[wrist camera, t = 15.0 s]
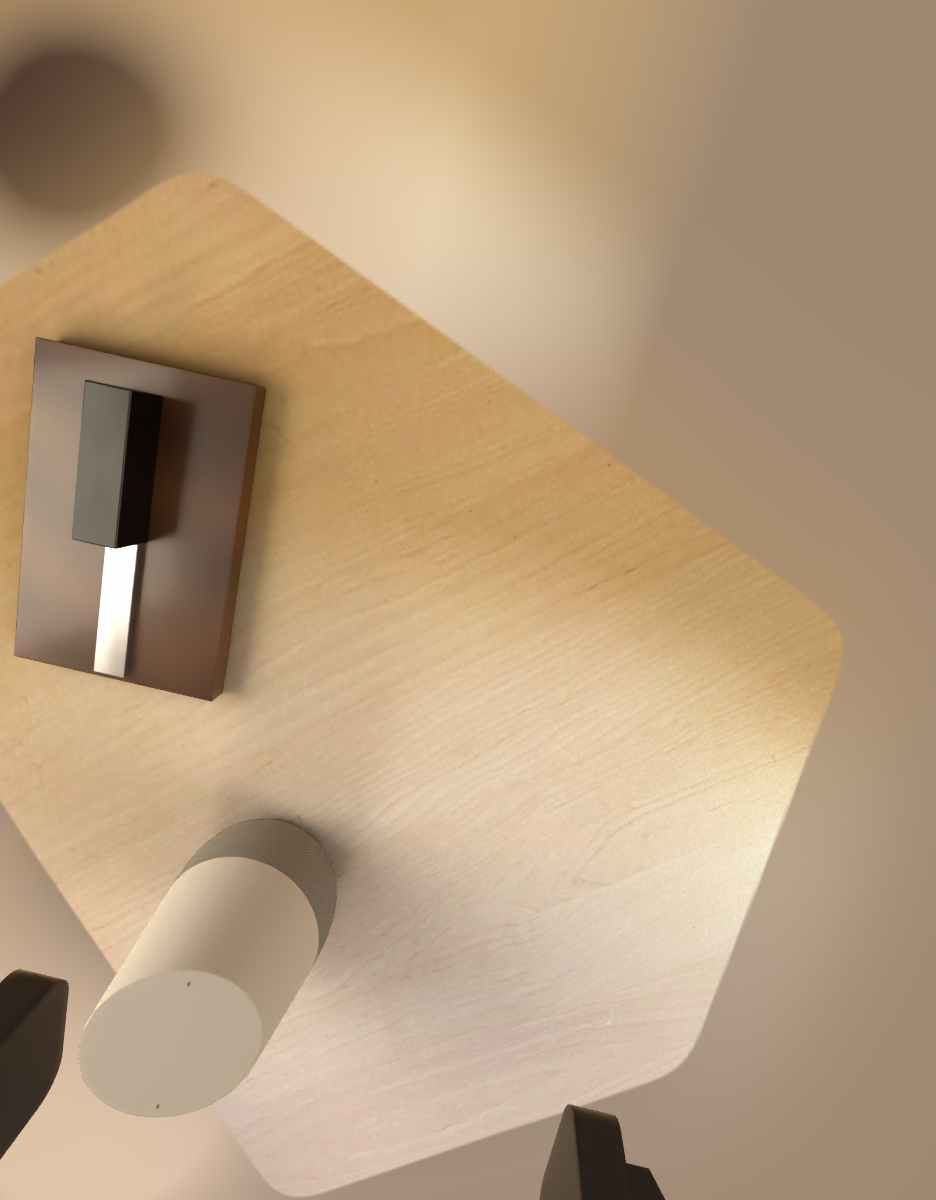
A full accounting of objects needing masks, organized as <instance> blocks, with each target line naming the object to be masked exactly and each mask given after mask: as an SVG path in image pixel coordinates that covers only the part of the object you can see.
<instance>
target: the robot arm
mask: <svg viewBox="0 0 936 1200" xmlns="http://www.w3.org/2000/svg"><path fill="white" fill-rule="evenodd" d="M68 990H69V986H68V983H67V981H66V980H63V979H59V978H54V977H51V976H46V975H42V974H38V973H34V972H30V971H26V970H21V969H19V970H16V971H14V972H12V973H11V974H9V975H8V976H7V977H6V978H5V979H4V980H3V981H2V982H1V983H0V1159H1V1158H2V1157H3V1155H4V1154H5V1152H6V1151H7V1150H8V1148H9V1147H10V1146H11V1144H12V1143H13V1142H14V1140H15V1139H16V1138H17V1136H18V1135H19V1133H20V1132H21V1131H22V1129H23V1128H24V1126H25V1125H26V1124H27V1122H28V1121H29V1120H30V1119H31V1117H32V1116H33V1115H34V1113H35V1112H36V1110H37V1109H38V1107H39V1106H40V1105H41V1103H42V1102H43V1100H44V1099H45V1097H46V1095H47V1093H48V1092H49V1090H50V1088H51V1086H52V1084H53V1082H54V1079H55V1077H56V1075H57V1072H58V1069H59V1066H60V1063H61V1059H62V1052H63V1042H64V1032H65V1022H66V1011H67V1002H68ZM540 1200H665V1198H664V1196H663V1195H662V1193H661V1191H660V1189H659V1187H658V1185H657V1183H656V1181H655V1179H654V1177H653V1175H652V1174H651V1172H650V1170H649V1169H648V1168H644V1167H640V1166H635V1165H632V1164H628V1163H626V1160H625V1154H624V1147H623V1141H622V1135H621V1130H620V1125H619V1122H618V1119H617V1118H616V1116H615V1115H611V1114H607V1113H603V1112H599V1111H595V1110H591V1109H586V1108H582V1107H578V1106H574V1105H570V1104H568V1105H567V1106H566V1108H565V1110H564V1113H563V1116H562V1119H561V1122H560V1125H559V1129H558V1132H557V1135H556V1138H555V1142H554V1145H553V1148H552V1151H551V1155H550V1158H549V1161H548V1164H547V1168H546V1171H545V1174H544V1178H543V1182H542V1188H541V1194H540Z"/></svg>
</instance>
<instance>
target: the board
mask: <svg viewBox="0 0 936 1200" xmlns="http://www.w3.org/2000/svg"><path fill="white" fill-rule="evenodd" d="M85 380H91V381H96V382H101V383H106V384H111V385H116V386H121V387H125V388H130V389H134V390H139V391H143V392H148V393H152V394H157V395H161V396H163V403H162V412H161V422H160V431H159V440H158V449H157V458H156V467H155V477H154V486H153V495H152V504H151V513H150V522H149V532H148V541H147V543H142V550H141V559H140V569H139V578H138V587H137V597H136V606H135V615H134V624H133V634H132V643H131V652H130V662H129V671H128V676H126V677H124V678H122V677H118V676H113V675H109V674H105V673H100V672H96V671H94V662H95V652H96V641H97V631H98V620H99V610H100V599H101V589H102V578H103V568H104V557H105V547H104V546H99V545H95V544H90V543H86V542H82V541H77V540H73V539H72V528H73V516H74V504H75V492H76V480H77V468H78V456H79V445H80V433H81V421H82V409H83V397H84V385H85ZM265 392H266V389H265V388H262V387H259V386H256V385H251V384H247V383H242V382H238V381H233V380H229V379H224V378H220V377H215V376H211V375H206V374H202V373H197V372H193V371H188V370H184V369H179V368H175V367H170V366H166V365H161V364H157V363H152V362H147V361H143V360H138V359H134V358H129V357H125V356H120V355H116V354H111V353H107V352H102V351H98V350H93V349H89V348H84V347H80V346H75V345H71V344H66V343H62V342H57V341H53V340H48V339H44V338H39V337H36V346H35V360H34V375H33V389H32V404H31V419H30V433H29V448H28V462H27V477H26V492H25V506H24V521H23V535H22V550H21V565H20V579H19V594H18V609H17V623H16V638H15V652H14V656H17V657H22V658H26V659H30V660H35V661H39V662H43V663H48V664H52V665H56V666H61V667H65V668H69V669H74V670H78V671H82V672H86V673H91V674H95V675H99V676H104V677H108V678H112V679H117V680H121V681H125V682H130V683H134V684H138V685H143V686H147V687H151V688H155V689H160V690H164V691H168V692H173V693H177V694H181V695H186V696H190V697H194V698H199V699H203V700H207V701H213V700H214V699H215V698H217V697H218V696H219V695H220V694H222V693H223V686H224V679H225V672H226V665H227V658H228V651H229V644H230V637H231V630H232V623H233V616H234V609H235V602H236V595H237V588H238V581H239V574H240V567H241V560H242V553H243V546H244V539H245V532H246V525H247V518H248V511H249V504H250V497H251V490H252V483H253V476H254V469H255V462H256V455H257V448H258V441H259V434H260V427H261V420H262V413H263V406H264V399H265Z"/></svg>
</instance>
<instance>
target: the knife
mask: <svg viewBox="0 0 936 1200" xmlns="http://www.w3.org/2000/svg"><path fill="white" fill-rule="evenodd" d="M162 403H163V396H161V395H157V394H152V393H148V392H143V391H139V390H134V389H130V388H125V387H121V386H116V385H111V384H106V383H101V382H96V381H91V380H85V385H84V397H83V409H82V421H81V433H80V445H79V456H78V468H77V480H76V492H75V504H74V516H73V528H72V539H73V540H77V541H82V542H86V543H90V544H95V545H99V546H104V547H105V557H104V568H103V578H102V589H101V599H100V610H99V620H98V631H97V641H96V652H95V662H94V671H96V672H100V673H105V674H109V675H113V676H118V677H122V678H124V677H126V676H128V671H129V662H130V652H131V643H132V634H133V624H134V615H135V606H136V597H137V587H138V578H139V569H140V559H141V550H142V543H147V541H148V532H149V522H150V513H151V504H152V495H153V486H154V477H155V467H156V458H157V449H158V440H159V431H160V422H161V412H162Z"/></svg>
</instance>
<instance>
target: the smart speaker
mask: <svg viewBox="0 0 936 1200" xmlns="http://www.w3.org/2000/svg"><path fill="white" fill-rule="evenodd" d="M336 895H337V888H336V879H335V874H334V870H333V867H332V864H331V862H330V860H329V858H328V856H327V854H326V852H325V851H324V849H323V848H322V846H321V845H320V844H319V843H318V842H317V841H316V840H315V839H314V838H313V837H312V836H311V835H310V834H308V833H307V832H306V831H304V830H303V829H301V828H299V827H297V826H295V825H293V824H290V823H287V822H284V821H280V820H274V819H255V820H249V821H245V822H241V823H238V824H236V825H233V826H231V827H229V828H227V829H225V830H224V831H222V832H220V833H219V834H217V835H216V836H214V837H213V838H212V839H210V840H209V841H208V842H207V843H206V844H205V845H203V846H202V847H201V848H200V849H199V850H198V852H197V853H196V854H195V855H194V856H193V857H192V858H191V860H190V861H189V862H188V864H187V865H186V866H185V867H184V869H183V870H182V871H181V873H180V874H179V876H178V877H177V879H176V880H175V881H174V883H173V884H172V886H171V887H170V889H169V891H168V892H167V894H166V895H165V897H164V899H163V900H162V902H161V903H160V905H159V907H158V908H157V910H156V911H155V913H154V915H153V916H152V918H151V920H150V921H149V923H148V924H147V926H146V928H145V929H144V931H143V932H142V934H141V936H140V937H139V939H138V940H137V942H136V944H135V945H134V947H133V948H132V950H131V952H130V953H129V955H128V957H127V958H126V960H125V961H124V963H123V965H122V966H121V968H120V969H119V971H118V973H117V974H116V976H115V978H114V979H113V981H112V982H111V984H110V986H109V987H108V989H107V990H106V992H105V994H104V995H103V997H102V999H101V1000H100V1002H99V1004H98V1005H97V1007H96V1008H95V1010H94V1012H93V1013H92V1015H91V1017H90V1018H89V1020H88V1022H87V1024H86V1026H85V1028H84V1030H83V1033H82V1036H81V1039H80V1044H79V1052H78V1060H79V1067H80V1071H81V1074H82V1077H83V1079H84V1081H85V1083H86V1085H87V1086H88V1088H89V1089H90V1090H91V1092H92V1093H93V1094H94V1095H95V1096H97V1098H99V1099H100V1100H101V1101H103V1102H104V1103H106V1104H107V1105H109V1106H111V1107H112V1108H115V1109H117V1110H119V1111H122V1112H124V1113H128V1114H132V1115H137V1116H142V1117H170V1116H177V1115H182V1114H186V1113H190V1112H193V1111H196V1110H199V1109H201V1108H204V1107H206V1106H208V1105H210V1104H212V1103H214V1102H216V1101H218V1100H220V1099H221V1098H223V1097H224V1096H226V1095H227V1094H228V1093H230V1092H231V1091H232V1090H233V1089H235V1088H236V1087H237V1086H238V1085H239V1084H240V1083H241V1082H242V1080H243V1079H244V1078H245V1077H246V1076H247V1075H248V1073H249V1072H250V1070H251V1069H252V1067H253V1066H254V1064H255V1063H256V1061H257V1060H258V1058H259V1056H260V1055H261V1053H262V1051H263V1049H264V1048H265V1046H266V1044H267V1043H268V1041H269V1039H270V1038H271V1036H272V1034H273V1033H274V1031H275V1029H276V1028H277V1026H278V1024H279V1023H280V1021H281V1019H282V1018H283V1016H284V1014H285V1013H286V1011H287V1009H288V1007H289V1006H290V1004H291V1002H292V1001H293V999H294V997H295V996H296V994H297V992H298V991H299V989H300V987H301V986H302V984H303V982H304V981H305V979H306V977H307V976H308V974H309V972H310V970H311V969H312V967H313V965H314V963H315V961H316V959H317V957H318V955H319V953H320V951H321V949H322V947H323V945H324V943H325V940H326V938H327V936H328V933H329V930H330V928H331V925H332V921H333V917H334V913H335V906H336Z"/></svg>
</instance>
